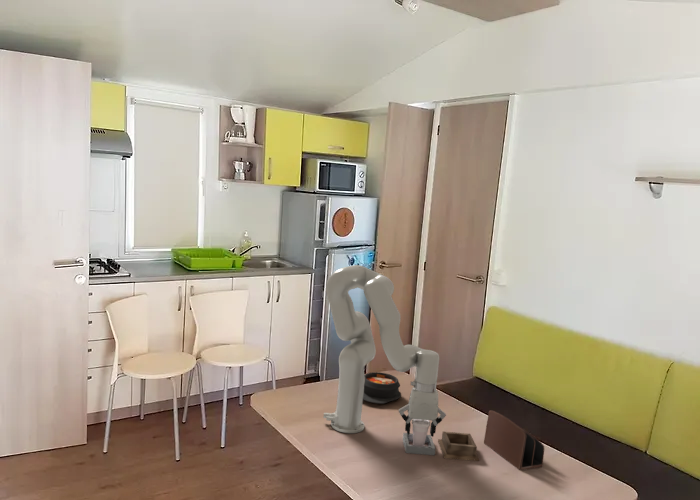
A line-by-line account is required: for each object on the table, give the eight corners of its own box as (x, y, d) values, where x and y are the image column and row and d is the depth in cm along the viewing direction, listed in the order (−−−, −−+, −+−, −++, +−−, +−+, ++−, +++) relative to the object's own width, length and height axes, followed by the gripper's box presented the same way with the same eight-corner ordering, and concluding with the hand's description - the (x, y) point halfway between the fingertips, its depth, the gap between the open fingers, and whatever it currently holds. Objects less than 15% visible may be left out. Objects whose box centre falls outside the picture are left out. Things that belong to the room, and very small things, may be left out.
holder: (405, 452, 185) (406, 446, 185) (402, 439, 195) (403, 432, 195) (434, 455, 185) (435, 448, 185) (430, 441, 195) (430, 435, 195)
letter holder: (519, 471, 180) (525, 431, 179) (483, 443, 198) (487, 406, 197) (542, 467, 184) (548, 428, 183) (504, 440, 202) (509, 404, 201)
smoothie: (426, 453, 186) (431, 414, 185) (408, 449, 188) (412, 411, 186) (427, 444, 193) (432, 407, 191) (410, 441, 194) (414, 404, 192)
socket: (444, 458, 184) (445, 445, 183) (437, 441, 196) (439, 429, 195) (478, 461, 184) (480, 448, 184) (470, 444, 196) (472, 432, 195)
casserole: (368, 383, 248) (370, 365, 247) (407, 392, 242) (409, 374, 241) (348, 401, 225) (350, 382, 224) (391, 411, 219) (393, 391, 218)
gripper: (401, 387, 184) (396, 436, 186) (452, 392, 184) (446, 441, 186) (399, 380, 191) (394, 427, 193) (447, 384, 191) (442, 431, 193)
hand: (419, 433), depth 189 cm, fingers open, 7 cm apart
